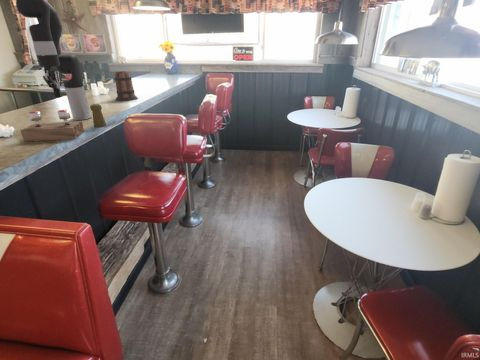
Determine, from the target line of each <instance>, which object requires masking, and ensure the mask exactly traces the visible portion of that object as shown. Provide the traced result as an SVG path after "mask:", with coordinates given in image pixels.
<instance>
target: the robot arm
mask: <svg viewBox="0 0 480 360" xmlns="http://www.w3.org/2000/svg"><path fill="white" fill-rule="evenodd" d="M15 5H16V8H17V11H18V12H19V14H20V15H21V16H23V17H24V18H29V19H30V18H31V19H32V18H34V19H36V20H37V22H38V23H37V24H31V25H29V27H28V28H29V29H28V30H29V33H30V36H31V39H32V43H33V49H34V53H35V56H36V60H37V63H38V66H39V67H40V68H41V67H43V69H44V70H43V71H44V75H43V76H42V78H43V80H44V81H45V83H46V84H47V86H48V87H49V88H51V89H52V91H53V94H54V98H62V96H63V95H62V92H61V87H62V86H64V91H65V93H66V97H67V101H68V105H69V107H70V111H71V112H70V113H71V115H72V119H73V120H76V121H82V120H87V119H91V118H92V114H91V111H90V110H91V109H90V105H89V102H88V98H87V94H86V91H85V86H84V82H83V81H84V79H83V73H82V70H81V62H80V61H79V59H78V57H77V56H76V55H75V54H62V52H61V50H60V39H61V36H62V33H63V32H62V31H63V26H62V22H61V19H60V17H59V14H58V12H57V10H56V8H54V7H53V6H52V5H51V4H50V3H49V2H48V1H47V0H15ZM68 74H69V75H70V74H71V78H70V79H68V80H66V81H64V82H63V75H68ZM62 82H63V85H62Z"/></svg>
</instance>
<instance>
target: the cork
mask: <svg viewBox="0 0 480 360" xmlns="http://www.w3.org/2000/svg"><path fill="white" fill-rule="evenodd" d="M89 110H91V112H92V123H93V127H94V128H102V127H103V128H104V127H106V126H107V123H106V120H105V117H104V114H103V112H102V105H101V104H100V103H92V104H91V105H89Z"/></svg>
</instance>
